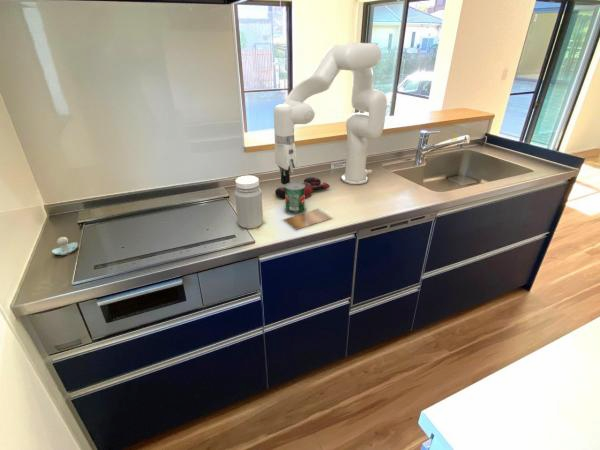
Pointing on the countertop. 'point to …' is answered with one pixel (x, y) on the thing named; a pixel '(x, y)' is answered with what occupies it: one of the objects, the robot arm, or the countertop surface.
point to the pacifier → (64, 247)
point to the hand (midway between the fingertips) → (285, 183)
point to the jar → (248, 202)
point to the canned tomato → (295, 198)
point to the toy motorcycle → (310, 186)
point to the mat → (306, 219)
